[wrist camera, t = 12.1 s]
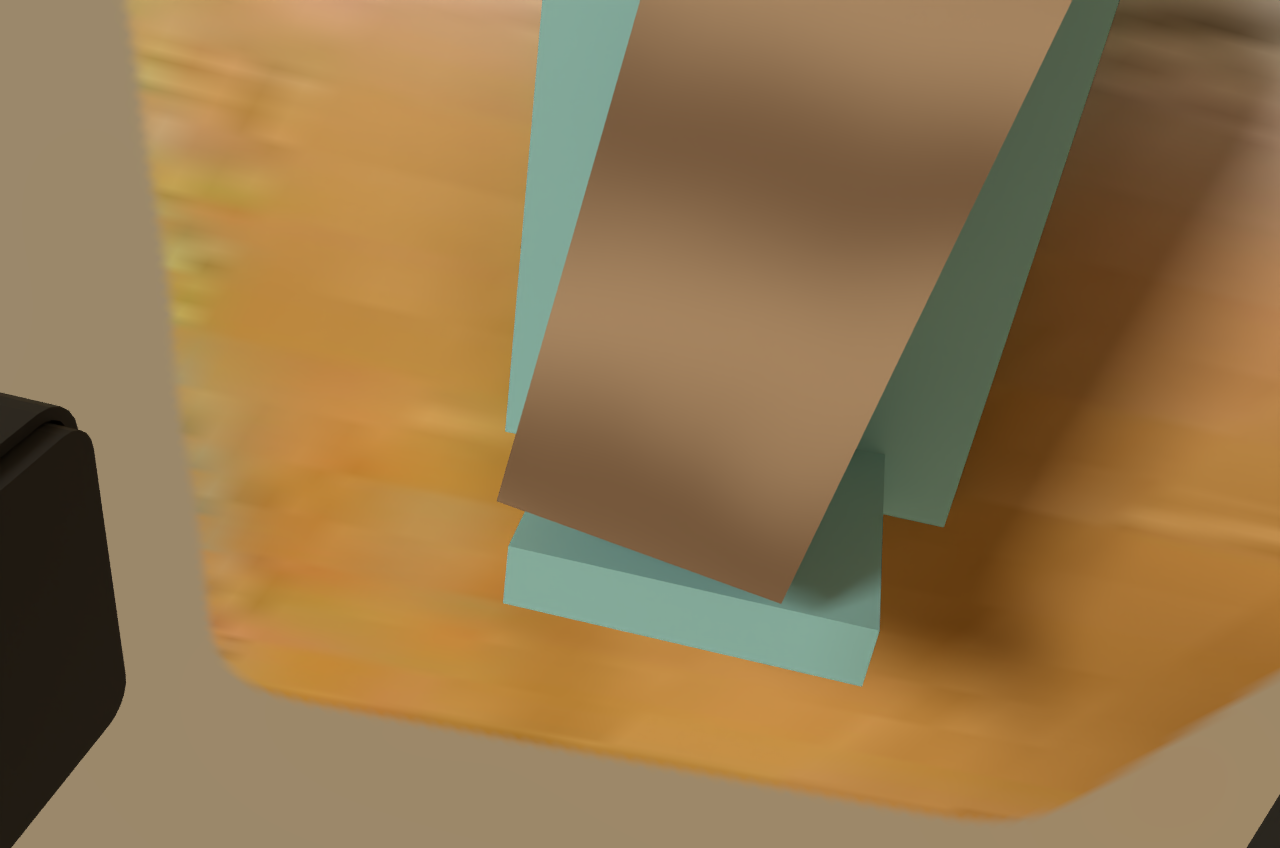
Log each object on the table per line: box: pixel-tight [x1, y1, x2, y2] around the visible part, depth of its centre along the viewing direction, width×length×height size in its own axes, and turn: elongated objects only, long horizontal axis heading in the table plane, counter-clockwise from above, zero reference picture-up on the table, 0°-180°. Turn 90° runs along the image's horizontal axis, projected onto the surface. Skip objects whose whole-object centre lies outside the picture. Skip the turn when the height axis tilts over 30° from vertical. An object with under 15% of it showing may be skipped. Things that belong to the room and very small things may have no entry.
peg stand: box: [503, 0, 1120, 686], centre depth 24 cm, size 22×12×8 cm, turn 172°
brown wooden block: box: [497, 0, 1072, 604], centre depth 22 cm, size 16×6×5 cm, turn 163°
